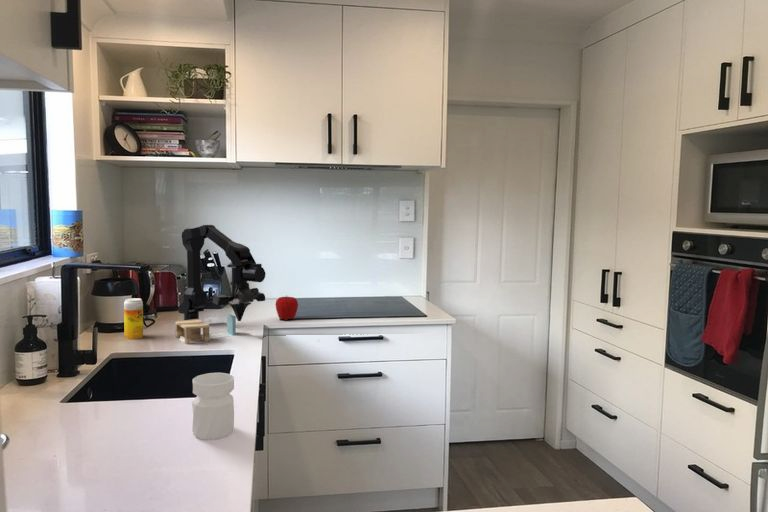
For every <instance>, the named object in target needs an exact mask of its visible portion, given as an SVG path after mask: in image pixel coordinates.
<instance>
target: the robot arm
mask: <svg viewBox="0 0 768 512" xmlns="http://www.w3.org/2000/svg"><path fill="white" fill-rule="evenodd" d="M205 239H208V240H209V241H211V242H213V243H214V244H215V245H216V246H218V247H219V248H220V249H222V250H223V251H224V253H225V256H226V258H228V260H229V261H230V263H228V264H227V265H226V266H227V268H231V281H230V283H229V285H230V286H231V292H230V293H229V295H230V296H227V295H225V294H218V295H217V294H216V295H213V297H212V304H215V305H216V306H225V305H229V306H230V307H231V308H232V310H233V313H234V314H235V315H234V316H236V319H237V321H238V322H241V321H242V319H243V316H244V313H245V311H246V308H248V306H250V305H252V303H253V302H254V300H256V301H257V302H265V301H266V295H265V293H264V292H260V291H259V288H258V287H253V288H250V284H249V282H253V283H262V282H264V280H265V278H266V271H265V269H264V267H263V265H262V263H257V262H256V261H255V258H254V256H253V255H252V253H251V250H250V247H248V246H246V245H244V244H242V243H240V242H239V243H238V242H236V241H233V240H232V239H231V238H230V237H228V236H227V235H226V234H224V233H223V232H221V231H220V230H219V229H217V228H216V226H215V225H213V224H202V225H201V226H197V227H194V228H193V227H192V228H185V229H183V231H182V233H181V241H182V245H183V247H184V248H185V250H186V262H187V264H186V265H187V288H186V290H185V292H184V293H183V301H181V304H180V305H179V306H178V307H177V311H178V313H179V314H182V315H183V320H192V319H199V320H200V312H204V310H205V307H206V304H207V302H208V298H207V296H208V292H207V291H206V290H204V289H203V287H202V272H201V271H202V266H201V265H202V264H201V261H202V260H201V251H202V248H203V247H204V245H205Z"/></svg>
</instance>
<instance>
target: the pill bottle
mask: <svg viewBox="0 0 768 512" xmlns="http://www.w3.org/2000/svg"><path fill="white" fill-rule="evenodd" d="M191 382H192V394H193V395H195V396H196V397H195V398H193V400H192V401H191V403H192V434H193V436H194V437H195V439H199V440H200V439H201V440H203V441H204V440H205V441H208V440H209V441H211V440H213V441H214V440H220V439H223V438H226V437H228V436H230V435H231V434H233V433H234V430H235V410H234V409H235V403H234V401H235V400H234V396H233V395H232V394H231V393H232V392H233V391H234V389H235V376H234V375H231V374H230V373H226V372H209V373H204V374H200V375H196V376H195V377H193V378H192V381H191Z"/></svg>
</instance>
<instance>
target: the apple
mask: <svg viewBox="0 0 768 512" xmlns="http://www.w3.org/2000/svg"><path fill="white" fill-rule="evenodd" d="M298 307H299V302H298V299H296V297H293V296H288V295H285V296H281V297H278V298H277V299H276V300H275V311H276V313H277V315H278V318H279V319H280V320H282V319H284V320H283V321H289V320H288V319H291V320H292V319H294V318H295V317H296V315H297V313H298Z"/></svg>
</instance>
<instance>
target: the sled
mask: <svg viewBox="0 0 768 512" xmlns="http://www.w3.org/2000/svg"><path fill="white" fill-rule="evenodd" d="M236 319H237V318H236V315H233V314H231V313H229V314H226V320H227V321H226V332H220V333H214V334H209V340H212V339H219V338H226V337H234V336H237V334H236V332H237V331H236V322H237V321H236ZM178 340H179V341H181V342H183V343H185V338H184V337H183V336H180V338H178ZM197 341H198V342H199V340H193V341H192V342H197ZM200 341H203V335H201V340H200Z"/></svg>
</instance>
